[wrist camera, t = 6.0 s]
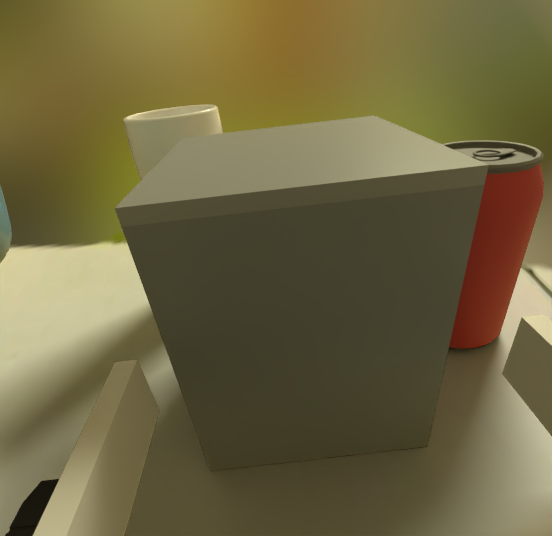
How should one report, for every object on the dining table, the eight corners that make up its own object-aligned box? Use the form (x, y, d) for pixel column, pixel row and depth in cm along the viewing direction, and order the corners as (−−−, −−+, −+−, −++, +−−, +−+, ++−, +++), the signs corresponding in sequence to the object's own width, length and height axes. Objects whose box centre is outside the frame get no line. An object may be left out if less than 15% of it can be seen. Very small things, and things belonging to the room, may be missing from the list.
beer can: (523, 345, 22) (593, 157, 16) (425, 362, 22) (458, 175, 16) (463, 289, 28) (497, 133, 22) (384, 301, 27) (397, 147, 21)
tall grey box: (210, 470, 17) (114, 207, 10) (225, 327, 27) (182, 138, 19) (427, 446, 17) (488, 165, 10) (365, 311, 27) (374, 115, 19)
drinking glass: (160, 298, 31) (99, 121, 23) (206, 262, 36) (169, 106, 28) (219, 316, 28) (172, 118, 20) (261, 274, 33) (237, 102, 25)
